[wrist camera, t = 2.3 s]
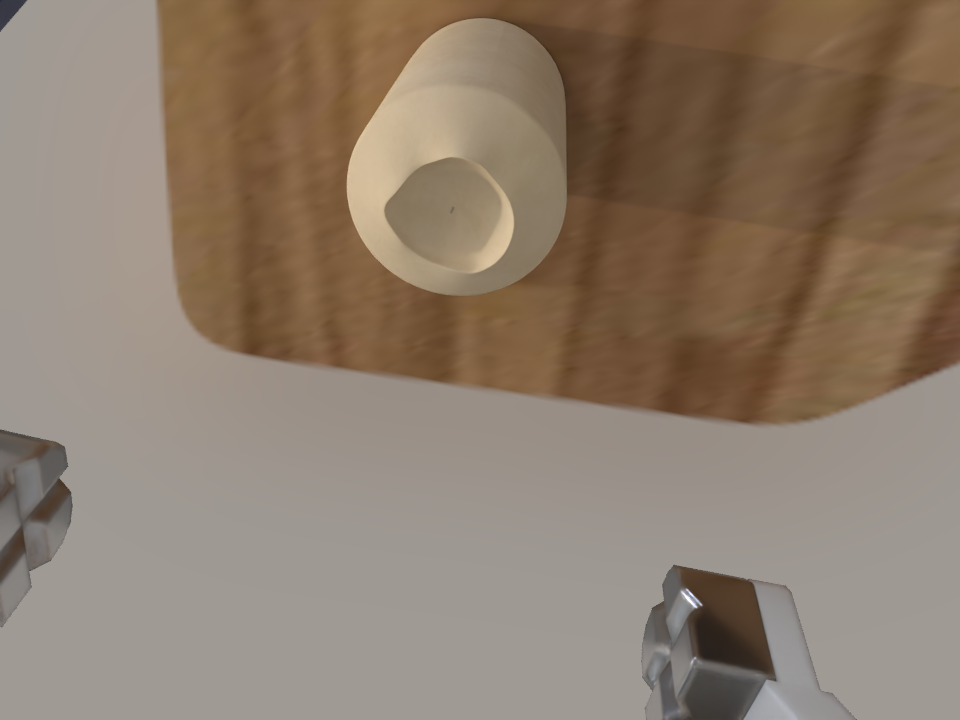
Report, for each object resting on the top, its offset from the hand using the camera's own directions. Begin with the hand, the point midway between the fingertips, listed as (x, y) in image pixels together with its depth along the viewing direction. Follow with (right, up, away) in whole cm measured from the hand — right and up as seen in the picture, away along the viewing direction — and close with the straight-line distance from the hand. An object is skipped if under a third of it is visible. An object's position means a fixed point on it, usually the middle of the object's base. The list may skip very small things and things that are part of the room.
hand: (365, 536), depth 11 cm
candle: (+2, +11, +17) cm, 20 cm away
